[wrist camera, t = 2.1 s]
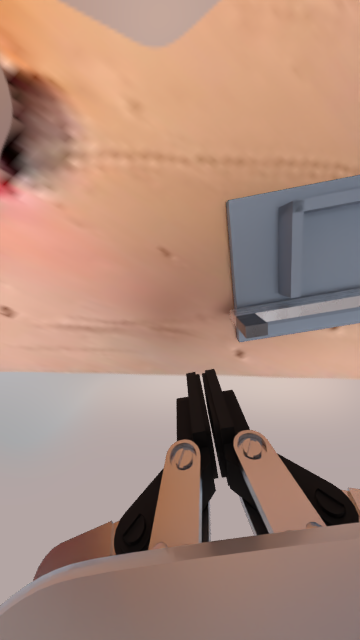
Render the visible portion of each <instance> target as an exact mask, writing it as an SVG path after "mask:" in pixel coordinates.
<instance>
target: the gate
mask: <svg viewBox="0 0 360 640" xmlns="http://www.w3.org/2000/svg"><path fill="white" fill-rule="evenodd" d="M355 307H360V288H356V289H350V290H344V291H338V292H333V293H327V294H321V295H315V296H309V297H303V298H297V299H291V300H285V301H279V302H273V303H267V304H261V305H255V306H249V307H243V308H238V309H232V310H230V320H231V321H232V322H233V323H234V324H235V326H236V327H237V328H238V329H239V330H240V332H241V333H242V334H243V335H244V337H245V338H246V339H247V338H253V337H260V336H266V335H268V323H267V322H269V321H276V320H282V319H288V318H294V317H300V316H306V315H312V314H318V313H324V312H330V311H336V310H342V309H349V308H355Z"/></svg>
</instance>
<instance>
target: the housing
mask: <svg viewBox="0 0 360 640" xmlns="http://www.w3.org/2000/svg"><path fill="white" fill-rule="evenodd" d="M226 208H227V220H228V233H229V245H230V258H231V270H232V282H233V295H234V307H235V309H238V308H243V307H249V306H255V305H261V304H267V303H273V302H279V301H285V300H291V299H297V298H303V297H309V296H315V295H321V294H327V293H333V292H338V291H344V290H350V289H356V288H360V175H357V176H351V177H346V178H341V179H336V180H331V181H326V182H320V183H315V184H310V185H305V186H300V187H295V188H289V189H284V190H279V191H274V192H269V193H264V194H258V195H253V196H248V197H243V198H238V199H233V200H228V201H227V202H226ZM267 323H268V335H266V336H260V337H253V338H247V339H246V338H245V337H244V335H243V334H242V333H241V332H240V330H239V329H238V328H237V327H236V332H237V340H238V341H239V342H244V341H250V340H257V339H263V338H269V337H275V336H281V335H288V334H294V333H300V332H306V331H313V330H319V329H325V328H331V327H337V326H344V325H350V324H356V323H360V307H355V308H349V309H342V310H336V311H330V312H324V313H318V314H312V315H306V316H300V317H294V318H288V319H282V320H276V321H269V322H267Z"/></svg>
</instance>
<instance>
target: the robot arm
mask: <svg viewBox="0 0 360 640" xmlns="http://www.w3.org/2000/svg"><path fill="white" fill-rule="evenodd" d="M186 376H187V386H188V397H184V398H178V399H177V442H175V443H174V444H173V445H171V447H170V448H169V450H168V452H167V455H166V459H165V465H164V469H163V470H162V471H161V472H160V473H159V474H158V476H156V478H155V479H154V480H153V481H152V482H151V483H150V485H149V486H148V487H147V488H146V489H145V490H144V492H143V493H142V494H141V495H140V496H139V497H138V499H137V500H136V501H135V502H134V503H133V504H132V506H131V507H130V508H129V509H128V510H127V511H126V512H125V514H124V515H123V517H122V518H121V519H120V521H117V522H115V523H113V522H112V521H110V522H108V523H106V524H103V525H101V526H99V527H97V528H94V529H92V530H90V531H87V532H85V533H83V534H81V535H78V536H76V537H74V538H72V539H69V540H67V541H65V542H63V543H60V544H59V545H57V546H56V547H54V548H53V549H52V550H51V551H50V552H49V553H48V554H47V555H46V556H45V558H44V559H43V561H42V563H41V564H40V566H39V567H38V570H37V572H36V574H35V577H34V579H33V582H31V583H29V584H28V585H26V586H25V587H23V588H22V589H21V590H20V591H18V592H16V593H15V594H14V595H12V596H11V597H10V598H9V599H7V600H6V601H5V602H4V603H3V604H2V605H0V640H360V489H355V488H348V491H345V490H340V489H339V488H337V487H336V486H334V485H333V484H331V483H329V482H328V481H326V480H324V479H322V478H320V477H319V476H317V475H315V474H313V473H311V472H310V471H308V470H306V469H304V468H302V467H300V466H299V465H297V464H295V463H293V462H292V461H290V460H288V459H286V458H284V457H283V456H281V455H279V454H277V453H276V452H275V450H274V449H273V447H272V446H271V444H270V443H269V441H268V440H267V439H266V438H265V437H264V436H263V435H262V434H260V433H259V432H256V431H253V430H250V429H249V426H248V424H247V422H246V420H245V417H244V415H243V413H242V410H241V408H240V406H239V403H238V401H237V399H236V396H235V394H234V392H233V390H228V391H222V390H221V387H220V384H219V381H218V379H217V376H216V373H215V370H214V369H211V370H205V373H202V377H203V383H204V389H205V396H206V402H207V408H208V414H209V419H210V423H211V428H212V433H213V438H214V443H215V447H216V452H217V457H218V461H219V466H220V470H221V476H222V477H226V478H227V482H228V486H229V485H230V489H232V490H233V491H234V492H235V493H237V494H238V495H239V496H240V501H241V503H242V506H243V508H244V511H245V513H246V516H247V518H248V521H249V523H250V526H251V529H252V531H253V534H254V536H249V537H242V538H234V539H226V540H219V541H212V542H211V532H210V531H211V529H210V502H209V500H210V499H211V497H212V496H213V494H214V492H215V491H216V490H215V484H214V479H215V478H218V474H217V467H216V461H215V455H214V448H213V442H212V437H211V431H210V425H209V420H208V415H207V410H206V405H205V400H204V395H203V390H202V385H201V381H200V376H199V374H195V372H193V373H187V374H186Z"/></svg>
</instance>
